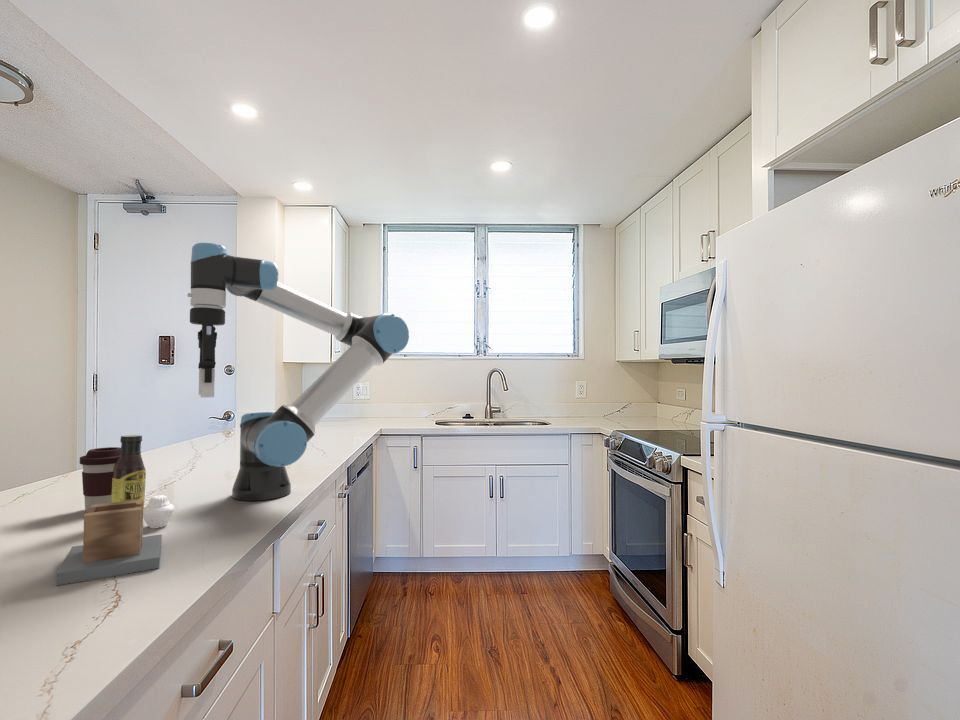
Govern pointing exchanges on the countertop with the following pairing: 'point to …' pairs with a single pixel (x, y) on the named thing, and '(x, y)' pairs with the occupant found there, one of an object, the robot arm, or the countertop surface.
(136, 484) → the sauce bottle
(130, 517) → the brown hollow block
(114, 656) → the countertop surface
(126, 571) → the shaft stand
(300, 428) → the robot arm
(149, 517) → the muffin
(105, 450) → the coffee cup
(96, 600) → the countertop surface
